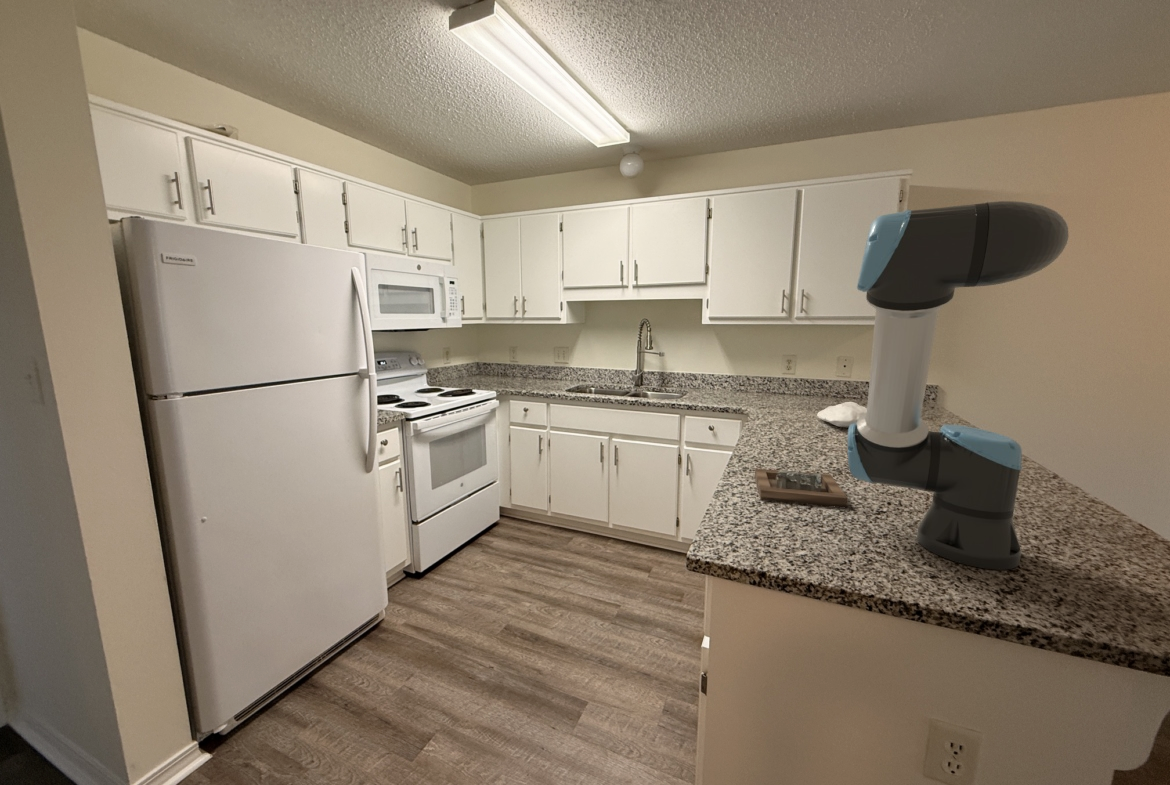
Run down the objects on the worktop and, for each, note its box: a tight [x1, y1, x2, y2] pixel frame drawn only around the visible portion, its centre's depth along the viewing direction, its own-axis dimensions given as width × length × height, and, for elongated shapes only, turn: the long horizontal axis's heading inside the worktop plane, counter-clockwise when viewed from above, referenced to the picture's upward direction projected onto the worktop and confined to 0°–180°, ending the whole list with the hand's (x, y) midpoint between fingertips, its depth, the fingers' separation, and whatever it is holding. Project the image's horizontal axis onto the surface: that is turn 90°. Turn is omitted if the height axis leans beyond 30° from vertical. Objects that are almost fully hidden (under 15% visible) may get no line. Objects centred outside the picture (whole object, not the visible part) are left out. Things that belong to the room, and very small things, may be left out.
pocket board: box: [754, 468, 849, 509], centre depth 117 cm, size 17×19×2 cm
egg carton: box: [776, 469, 822, 492], centre depth 116 cm, size 11×8×4 cm
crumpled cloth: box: [816, 401, 867, 428], centre depth 189 cm, size 24×35×9 cm
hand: (893, 379), depth 114 cm, fingers open, 13 cm apart
